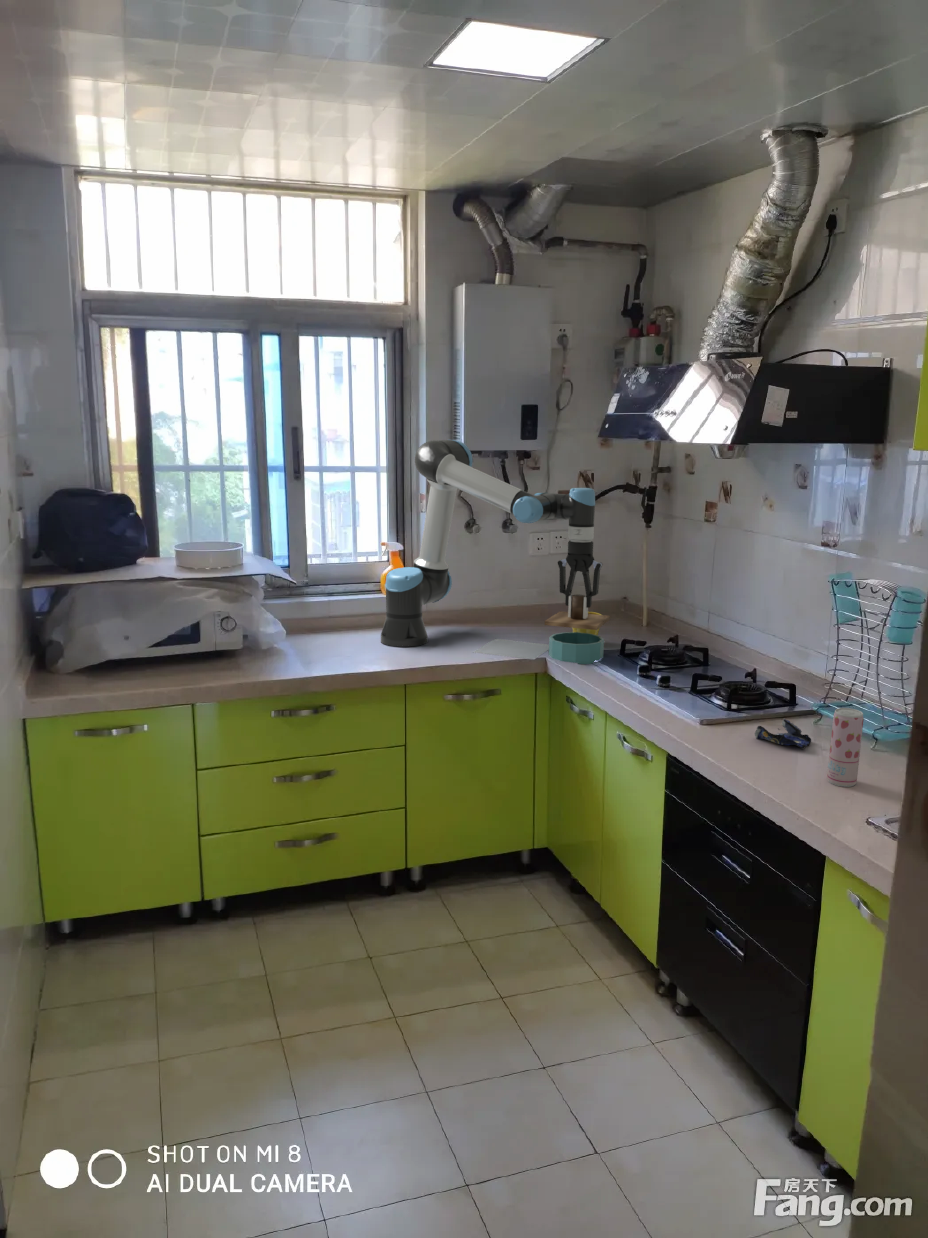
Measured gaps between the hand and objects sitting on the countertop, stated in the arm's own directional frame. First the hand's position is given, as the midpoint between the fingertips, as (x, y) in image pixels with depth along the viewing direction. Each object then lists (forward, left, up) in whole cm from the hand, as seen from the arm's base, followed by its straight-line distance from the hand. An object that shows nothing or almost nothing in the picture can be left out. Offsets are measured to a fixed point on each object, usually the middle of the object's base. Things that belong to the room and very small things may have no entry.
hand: (577, 616), depth 283 cm
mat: (-20, 0, -13) cm, 24 cm away
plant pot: (-2, +18, -13) cm, 22 cm away
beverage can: (+77, -74, -13) cm, 107 cm away
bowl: (0, 0, -13) cm, 13 cm away
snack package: (+64, -54, -13) cm, 85 cm away
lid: (0, 0, -2) cm, 2 cm away
